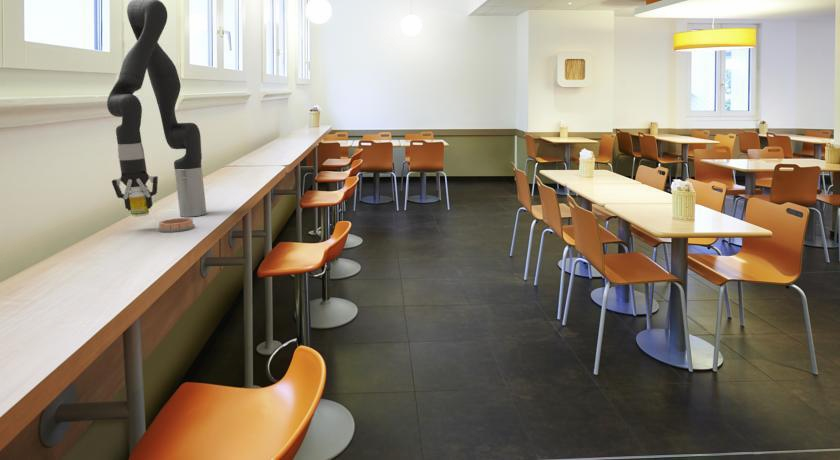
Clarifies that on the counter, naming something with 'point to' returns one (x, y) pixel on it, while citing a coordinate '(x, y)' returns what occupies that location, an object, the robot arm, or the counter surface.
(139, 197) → the supplement bottle
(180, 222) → the ring tray
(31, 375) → the counter surface
